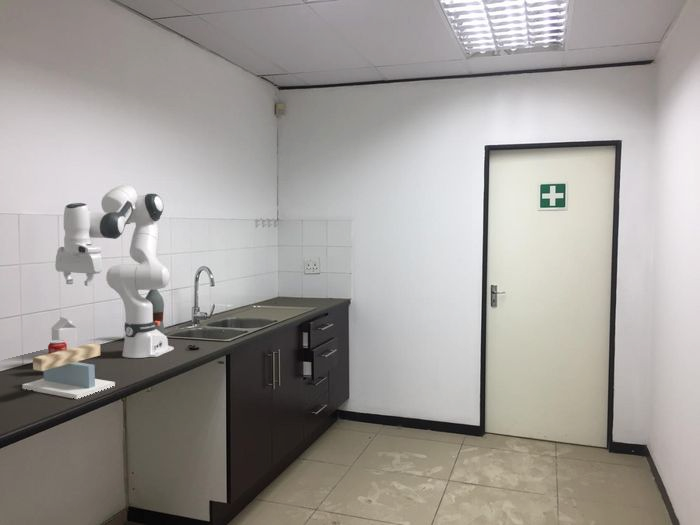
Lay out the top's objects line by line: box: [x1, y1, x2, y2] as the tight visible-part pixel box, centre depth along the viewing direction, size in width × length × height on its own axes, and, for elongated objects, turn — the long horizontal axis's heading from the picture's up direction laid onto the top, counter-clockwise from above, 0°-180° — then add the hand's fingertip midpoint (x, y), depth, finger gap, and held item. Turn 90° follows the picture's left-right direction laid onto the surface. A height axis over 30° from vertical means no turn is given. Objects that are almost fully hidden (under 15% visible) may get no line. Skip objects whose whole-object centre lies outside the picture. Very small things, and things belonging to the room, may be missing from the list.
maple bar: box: [32, 342, 101, 372], centre depth 202 cm, size 24×4×4 cm, turn 156°
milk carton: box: [51, 316, 79, 362], centre depth 233 cm, size 7×7×19 cm
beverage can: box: [47, 340, 67, 354], centre depth 222 cm, size 6×6×12 cm
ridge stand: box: [21, 361, 116, 400], centre depth 203 cm, size 16×26×9 cm, turn 66°
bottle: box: [144, 289, 166, 335], centre depth 279 cm, size 9×9×30 cm
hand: (78, 284), depth 216 cm, fingers open, 8 cm apart
